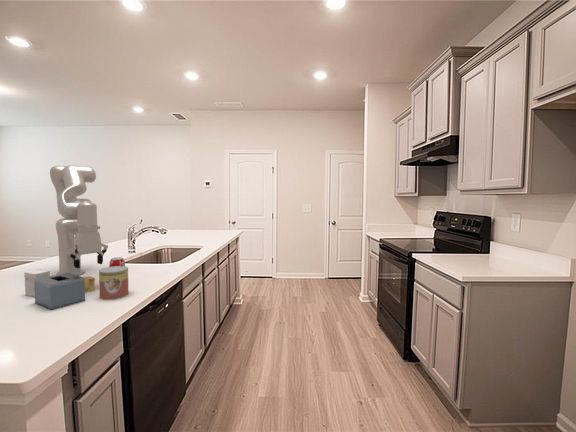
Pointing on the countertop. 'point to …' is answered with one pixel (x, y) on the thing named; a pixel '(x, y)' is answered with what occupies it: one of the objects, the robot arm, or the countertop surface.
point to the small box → (30, 280)
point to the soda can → (117, 262)
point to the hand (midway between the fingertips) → (89, 265)
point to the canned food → (113, 282)
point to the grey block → (59, 290)
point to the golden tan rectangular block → (89, 283)
